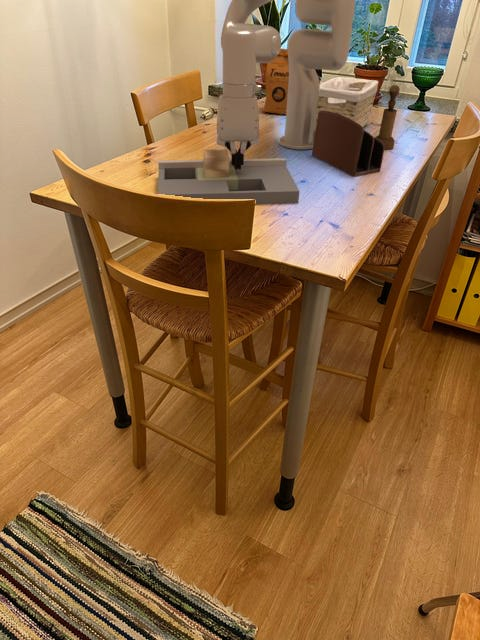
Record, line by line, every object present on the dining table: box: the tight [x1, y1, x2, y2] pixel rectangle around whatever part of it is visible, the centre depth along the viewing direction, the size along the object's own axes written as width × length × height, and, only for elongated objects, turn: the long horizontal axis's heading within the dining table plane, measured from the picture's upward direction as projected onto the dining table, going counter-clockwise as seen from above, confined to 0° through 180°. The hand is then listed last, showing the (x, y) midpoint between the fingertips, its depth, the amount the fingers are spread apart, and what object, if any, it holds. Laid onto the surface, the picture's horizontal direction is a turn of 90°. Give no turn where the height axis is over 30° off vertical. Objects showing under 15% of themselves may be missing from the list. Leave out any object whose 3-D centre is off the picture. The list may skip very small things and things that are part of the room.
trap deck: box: [156, 157, 300, 205], centre depth 118 cm, size 34×19×4 cm, turn 97°
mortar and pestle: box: [375, 84, 401, 151], centre depth 144 cm, size 7×6×18 cm
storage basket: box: [315, 76, 379, 129], centre depth 161 cm, size 24×16×15 cm
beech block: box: [203, 149, 230, 178], centre depth 118 cm, size 6×6×5 cm
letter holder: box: [311, 111, 385, 178], centre depth 132 cm, size 10×20×14 cm, turn 29°
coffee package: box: [263, 48, 289, 116], centre depth 174 cm, size 10×12×22 cm
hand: (237, 167), depth 120 cm, fingers closed
